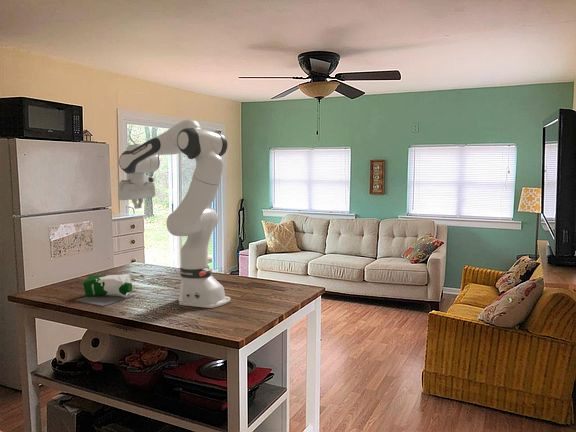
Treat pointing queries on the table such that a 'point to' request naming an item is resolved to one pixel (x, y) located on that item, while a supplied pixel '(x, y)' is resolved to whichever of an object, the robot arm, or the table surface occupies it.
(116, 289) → the soya milk
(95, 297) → the mat
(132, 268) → the table surface
